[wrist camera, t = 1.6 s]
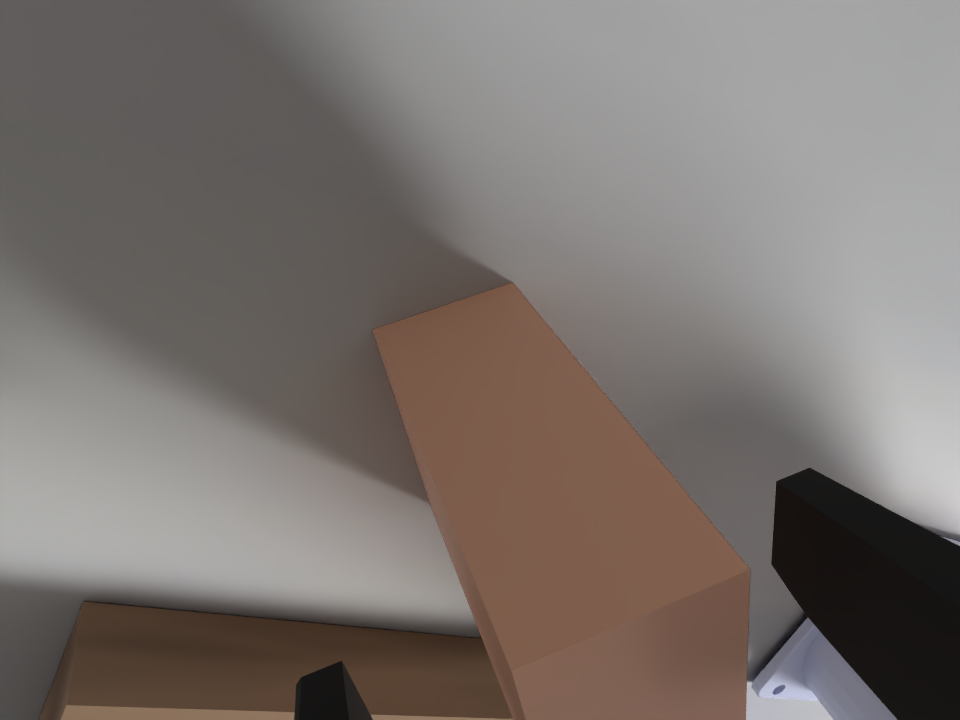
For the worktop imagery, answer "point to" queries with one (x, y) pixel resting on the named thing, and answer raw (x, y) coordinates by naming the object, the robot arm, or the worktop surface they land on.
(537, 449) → the salmon brown rectangular block
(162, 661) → the socket plate
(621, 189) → the worktop surface
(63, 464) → the worktop surface
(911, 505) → the worktop surface
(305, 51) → the worktop surface
